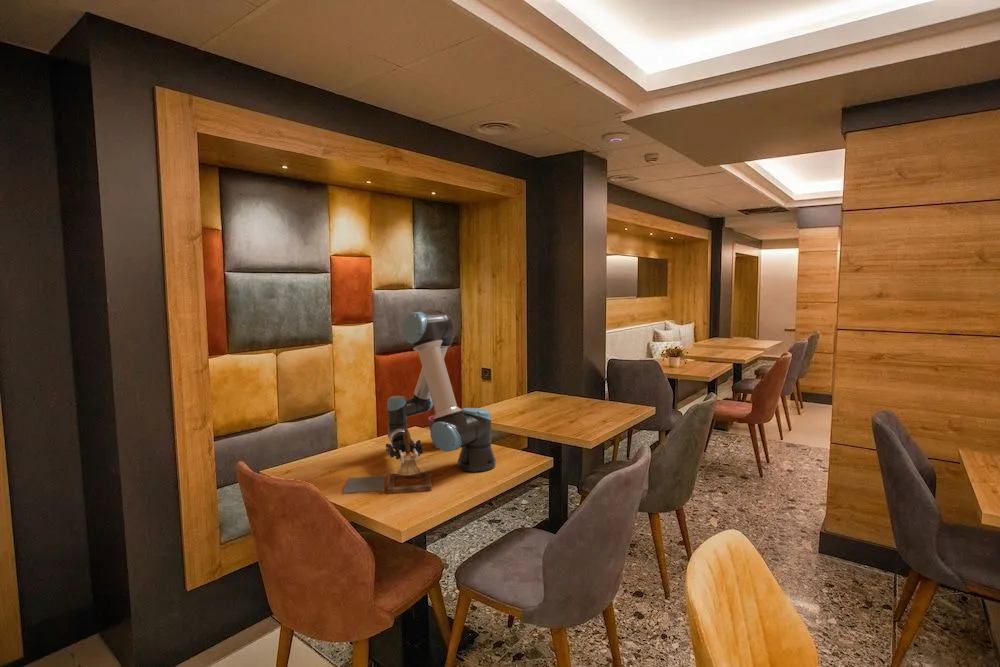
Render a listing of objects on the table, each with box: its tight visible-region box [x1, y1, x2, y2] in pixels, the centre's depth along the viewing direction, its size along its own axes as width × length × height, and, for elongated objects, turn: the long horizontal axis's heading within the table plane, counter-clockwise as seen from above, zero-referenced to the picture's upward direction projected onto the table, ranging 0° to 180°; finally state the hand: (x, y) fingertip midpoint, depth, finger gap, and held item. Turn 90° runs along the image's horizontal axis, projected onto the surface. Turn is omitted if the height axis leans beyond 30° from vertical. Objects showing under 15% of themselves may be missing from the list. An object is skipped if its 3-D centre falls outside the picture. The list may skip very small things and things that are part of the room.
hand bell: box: [396, 428, 421, 476], centre depth 185 cm, size 8×8×16 cm
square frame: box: [387, 471, 432, 494], centre depth 186 cm, size 15×15×2 cm
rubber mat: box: [342, 475, 388, 494], centre depth 185 cm, size 14×14×1 cm
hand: (410, 458), depth 180 cm, fingers closed on hand bell, 4 cm apart
